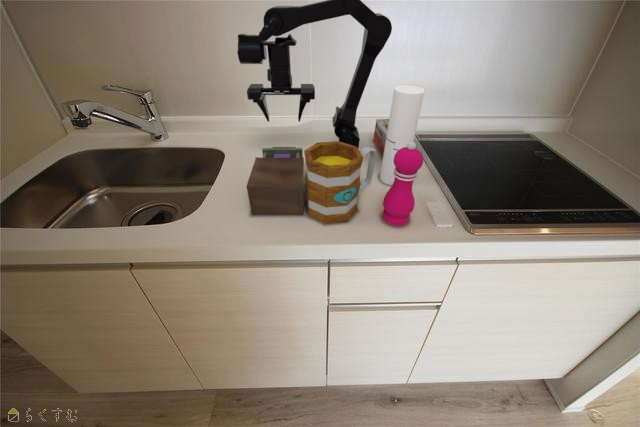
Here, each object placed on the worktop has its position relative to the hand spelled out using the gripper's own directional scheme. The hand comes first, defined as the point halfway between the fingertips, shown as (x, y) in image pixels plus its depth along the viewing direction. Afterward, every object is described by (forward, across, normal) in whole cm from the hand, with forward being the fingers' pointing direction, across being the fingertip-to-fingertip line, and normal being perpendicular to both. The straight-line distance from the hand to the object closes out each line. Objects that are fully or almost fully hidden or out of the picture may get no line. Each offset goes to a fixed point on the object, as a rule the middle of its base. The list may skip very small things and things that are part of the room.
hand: (283, 121), depth 87 cm
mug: (+12, -16, +26) cm, 32 cm away
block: (+10, 0, +13) cm, 16 cm away
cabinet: (+12, 0, +23) cm, 26 cm away
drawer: (+11, 0, +13) cm, 17 cm away
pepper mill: (+12, -28, +32) cm, 44 cm away
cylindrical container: (+12, -32, +14) cm, 37 cm away
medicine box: (+8, -35, -5) cm, 36 cm away
